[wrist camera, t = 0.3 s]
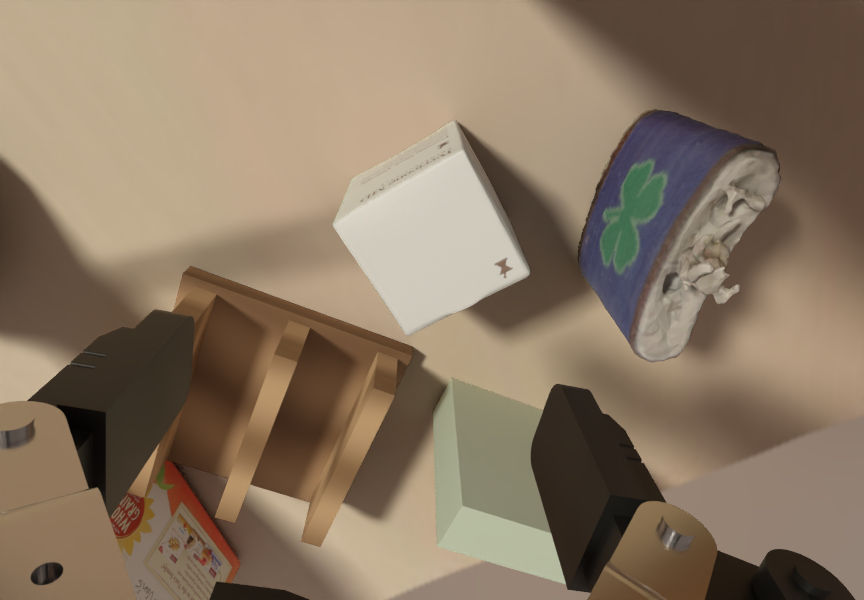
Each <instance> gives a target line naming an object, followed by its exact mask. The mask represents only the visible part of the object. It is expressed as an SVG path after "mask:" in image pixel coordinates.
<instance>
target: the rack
mask: <svg viewBox="0 0 864 600" xmlns="http://www.w3.org/2000/svg"><path fill="white" fill-rule="evenodd" d="M172 312H173V313H178V314H183V315H189V316H192V317H193V318H194V322H195V330H194V345H193V360H192V374H191V384H190V389H189V393H188V396H187V399H186V401H185V404H184V406H183V408H182V409H181V411H180V412H179V414H178V415H177V417H176V418H175V420H174V421H173V423H172V425H171V426H170V428H169V429H168V431H167V432H166V434H165V435H164V437H163V438H162V440H161V441H160V443H159V444H158V446H157V447H156V449H155V450H154V452H153V453H152V455H151V457H150V458H149V460H148V461H147V463H146V464H145V466H144V467H143V469H142V470H141V472H140V473H139V475H138V476H137V478H136V479H135V481H134V482H133V484H132V485H131V487H130V488H129V490H128V492H127V493H129V494H132V495H136V496H139V497H143V498H144V497H145V495H146V494H147V492H148V490H149V489H150V487H151V485H152V483H153V482H154V480H155V478H156V477H157V475H158V473H159V471H160V470H161V468H162V466H163V465H164V463H165V461H166V460H168V461H171V462H175V463H178V464H181V465H185V466H188V467H192V468H195V469H198V470H202V471H205V472H209V473H212V474H215V475H219V476H222V477H226V478H229V479H228V482H227V484H226V487H225V490H224V493H223V495H222V498H221V501H220V504H219V506H218V509H217V512H216V515H215V518H219V519H222V520H226V521H229V522H233V523H235V522H236V519H237V517H238V514H239V511H240V509H241V506H242V504H243V501H244V499H245V496H246V493H247V491H248V488H249V486H250V485H253V486H256V487H260V488H263V489H267V490H270V491H273V492H277V493H280V494H284V495H287V496H290V497H294V498H297V499H301V500H304V501H307V502H310V505H309V510H308V514H307V518H306V522H305V527H304V531H303V535H302V540H301V542H305V543H308V544H312V545H315V546H319V547H321V545H322V543H323V540H324V538H325V536H326V534H327V532H328V530H329V528H330V526H331V524H332V522H333V520H334V518H335V516H336V514H337V512H338V510H339V508H340V506H341V504H342V502H343V500H344V498H345V496H346V494H347V492H348V490H349V488H350V486H351V484H352V482H353V480H354V478H355V476H356V474H357V472H358V470H359V468H360V466H361V464H362V462H363V460H364V458H365V455H366V453H367V451H368V449H369V447H370V445H371V443H372V441H373V439H374V437H375V435H376V433H377V431H378V429H379V427H380V425H381V423H382V421H383V419H384V417H385V415H386V413H387V411H388V409H389V407H390V405H391V403H392V401H393V399H394V397H395V390H396V388H397V386H398V384H399V382H400V380H401V378H402V376H403V374H404V372H405V370H406V368H407V366H408V364H409V362H410V360H411V358H412V352H413V347H412V346H409V345H406V344H403V343H401V342H398V341H395V340H392V339H390V338H387V337H384V336H381V335H379V334H376V333H373V332H370V331H367V330H365V329H362V328H359V327H356V326H354V325H351V324H348V323H345V322H343V321H340V320H337V319H334V318H332V317H329V316H326V315H323V314H321V313H318V312H315V311H312V310H310V309H307V308H304V307H301V306H299V305H296V304H293V303H290V302H288V301H285V300H282V299H279V298H277V297H274V296H271V295H268V294H266V293H263V292H260V291H257V290H254V289H252V288H249V287H246V286H243V285H241V284H238V283H235V282H232V281H230V280H227V279H224V278H221V277H219V276H216V275H213V274H210V273H208V272H205V271H202V270H199V269H197V268H194V267H191V266H190V267H189V268H188V269H187V270H186V271H185V272H184V273H183V276H182V280H181V283H180V287H179V291H178V295H177V299H176V303H175V306H174V310H173V311H172Z"/></svg>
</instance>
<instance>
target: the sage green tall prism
mask: <svg viewBox="0 0 864 600" xmlns="http://www.w3.org/2000/svg"><path fill="white" fill-rule="evenodd" d="M542 413H543V410H541V409H538V408H536V407H533V406H530V405H527V404H524V403H522V402H519V401H516V400H513V399H510V398H508V397H505V396H502V395H499V394H496V393H494V392H491V391H488V390H485V389H482V388H479V387H477V386H474V385H471V384H468V383H465V382H463V381H460V380H457V379H454V378H451V379H450V381H449V383H448V385H447V387H446V389H445V391H444V392H443V394H442V396H441V398H440V400H439V402H438V403H437V405H436V407H435V409H434V411H433V432H434V465H435V497H436V530H437V547H440V548H443V549H446V550H450V551H453V552H457V553H460V554H464V555H467V556H471V557H474V558H477V559H481V560H484V561H488V562H491V563H495V564H498V565H501V566H505V567H508V568H512V569H516V570H519V571H522V572H526V573H529V574H533V575H536V576H539V577H543V578H546V579H550V580H553V581H557V582H560V583H563V584H566V582H565V579H564V575H563V572H562V569H561V565H560V562H559V558H558V555H557V552H556V548H555V545H554V541H553V538H552V535H551V531H550V528H549V524H548V521H547V518H546V514H545V511H544V507H543V504H542V501H541V497H540V494H539V490H538V487H537V484H536V480H535V477H534V473H533V470H532V466H531V446H532V441H533V438H534V435H535V432H536V429H537V427H538V424H539V421H540V418H541V416H542Z"/></svg>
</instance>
